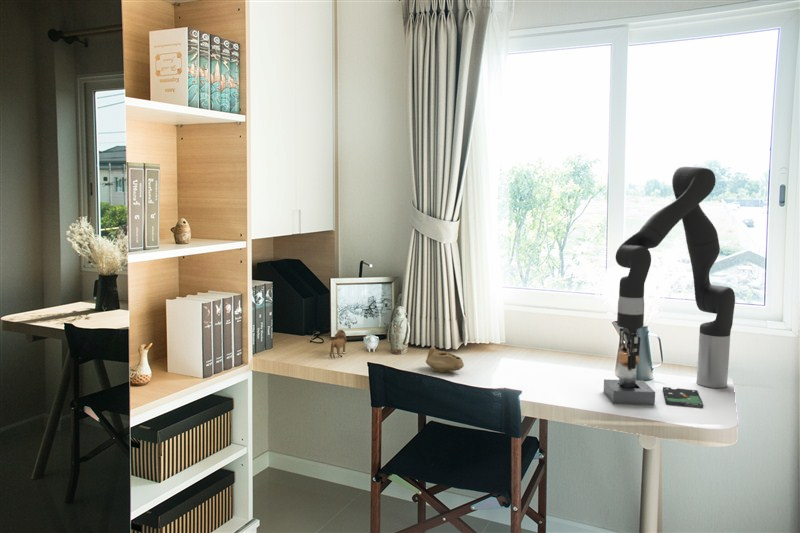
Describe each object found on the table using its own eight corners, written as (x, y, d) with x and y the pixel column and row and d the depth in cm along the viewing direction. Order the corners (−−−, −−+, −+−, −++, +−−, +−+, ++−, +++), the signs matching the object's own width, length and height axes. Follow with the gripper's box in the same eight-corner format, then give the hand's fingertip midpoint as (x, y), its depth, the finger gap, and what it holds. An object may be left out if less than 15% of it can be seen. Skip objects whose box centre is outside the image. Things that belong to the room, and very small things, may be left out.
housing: (603, 394, 204) (604, 379, 203) (642, 395, 203) (643, 380, 202) (613, 407, 192) (613, 390, 191) (654, 408, 191) (655, 392, 190)
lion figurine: (334, 350, 259) (334, 328, 258) (348, 350, 259) (347, 328, 258) (327, 359, 245) (327, 336, 244) (341, 360, 244) (341, 336, 243)
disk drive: (661, 395, 206) (665, 409, 192) (662, 386, 205) (666, 400, 191) (697, 398, 203) (703, 413, 189) (697, 389, 202) (704, 403, 188)
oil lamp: (458, 377, 222) (458, 355, 221) (419, 371, 229) (419, 349, 228) (470, 370, 231) (471, 348, 230) (433, 364, 238) (433, 343, 238)
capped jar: (614, 381, 200) (616, 350, 199) (634, 382, 199) (636, 350, 198) (619, 387, 194) (621, 355, 193) (640, 388, 194) (642, 355, 192)
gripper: (650, 315, 187) (648, 372, 189) (636, 307, 201) (634, 359, 203) (624, 315, 187) (622, 371, 189) (612, 306, 202) (609, 359, 203)
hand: (628, 365), depth 196 cm, fingers closed on capped jar, 6 cm apart
